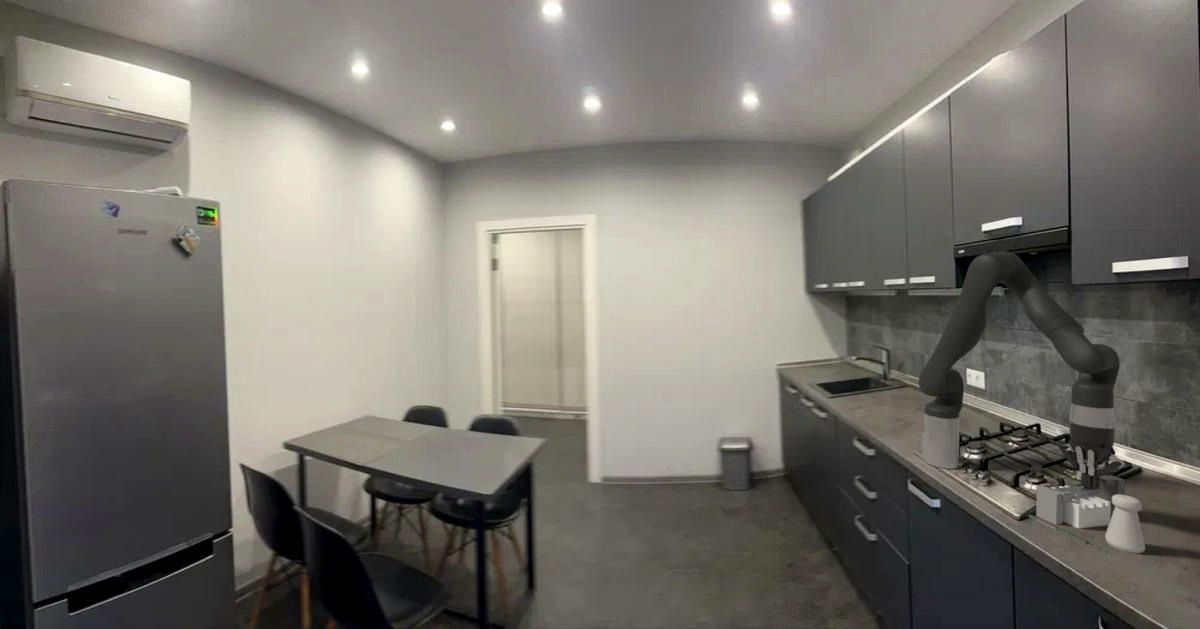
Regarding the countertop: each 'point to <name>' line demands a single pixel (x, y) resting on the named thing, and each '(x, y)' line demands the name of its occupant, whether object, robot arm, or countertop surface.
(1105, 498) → the block
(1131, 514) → the salt shaker
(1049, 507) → the heatsink base
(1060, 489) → the strap
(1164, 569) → the countertop surface
